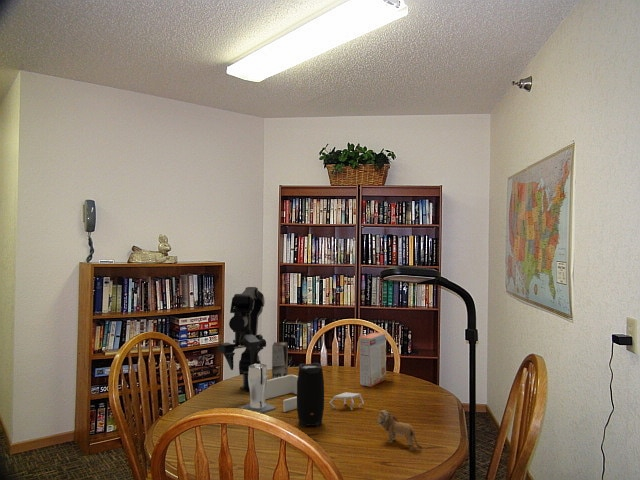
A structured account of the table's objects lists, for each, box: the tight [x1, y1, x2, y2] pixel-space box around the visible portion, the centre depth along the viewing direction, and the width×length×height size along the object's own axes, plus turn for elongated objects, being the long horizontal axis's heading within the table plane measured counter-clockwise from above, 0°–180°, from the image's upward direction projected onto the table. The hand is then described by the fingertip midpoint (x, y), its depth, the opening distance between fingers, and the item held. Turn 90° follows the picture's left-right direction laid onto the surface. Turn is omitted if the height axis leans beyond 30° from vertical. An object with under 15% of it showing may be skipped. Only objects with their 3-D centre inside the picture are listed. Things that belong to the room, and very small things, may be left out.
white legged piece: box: [328, 391, 365, 411], centre depth 175 cm, size 12×8×5 cm
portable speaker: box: [296, 362, 325, 428], centre depth 160 cm, size 9×9×20 cm
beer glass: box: [248, 363, 268, 410], centre depth 174 cm, size 7×7×15 cm
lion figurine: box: [376, 409, 423, 452], centre depth 143 cm, size 15×5×9 cm, turn 53°
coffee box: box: [271, 341, 289, 379], centre depth 211 cm, size 9×6×16 cm
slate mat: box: [237, 403, 277, 414], centre depth 174 cm, size 10×10×1 cm
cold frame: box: [265, 373, 298, 413], centre depth 182 cm, size 17×17×7 cm
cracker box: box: [358, 331, 387, 388], centre depth 208 cm, size 14×6×21 cm, turn 144°
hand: (242, 367), depth 181 cm, fingers open, 9 cm apart
